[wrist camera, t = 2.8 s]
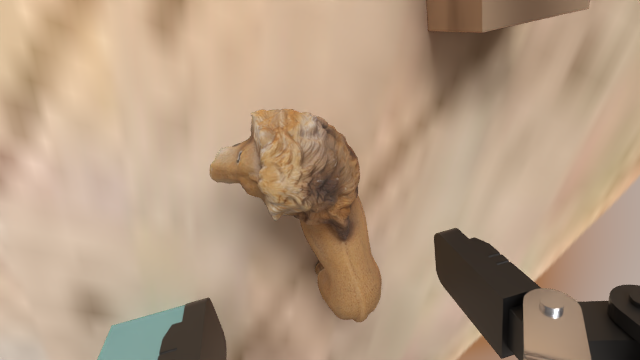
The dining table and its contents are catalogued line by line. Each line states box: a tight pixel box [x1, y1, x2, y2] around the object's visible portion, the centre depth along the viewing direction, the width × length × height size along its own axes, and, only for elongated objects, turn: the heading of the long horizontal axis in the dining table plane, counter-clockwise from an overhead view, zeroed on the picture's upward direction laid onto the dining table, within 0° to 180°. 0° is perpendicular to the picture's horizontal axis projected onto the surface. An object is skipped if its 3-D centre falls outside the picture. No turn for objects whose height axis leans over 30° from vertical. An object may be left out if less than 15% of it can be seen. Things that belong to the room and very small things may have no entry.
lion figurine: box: [210, 109, 381, 322], centre depth 18 cm, size 15×5×9 cm, turn 28°
